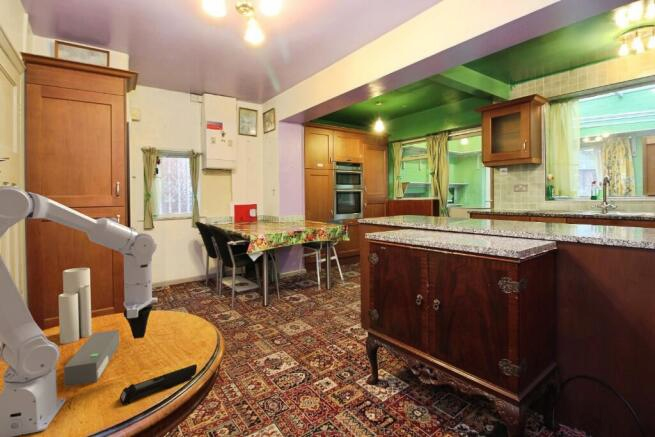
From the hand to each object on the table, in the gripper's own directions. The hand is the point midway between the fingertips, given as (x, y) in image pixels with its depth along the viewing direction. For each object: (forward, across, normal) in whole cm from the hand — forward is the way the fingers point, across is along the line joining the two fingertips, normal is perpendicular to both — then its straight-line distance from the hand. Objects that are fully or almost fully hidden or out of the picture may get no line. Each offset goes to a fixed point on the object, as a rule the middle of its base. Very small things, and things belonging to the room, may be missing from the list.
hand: (139, 337), depth 77 cm
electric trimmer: (+9, -9, -6) cm, 14 cm away
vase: (+9, +30, +22) cm, 38 cm away
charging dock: (+8, +8, +11) cm, 16 cm away
